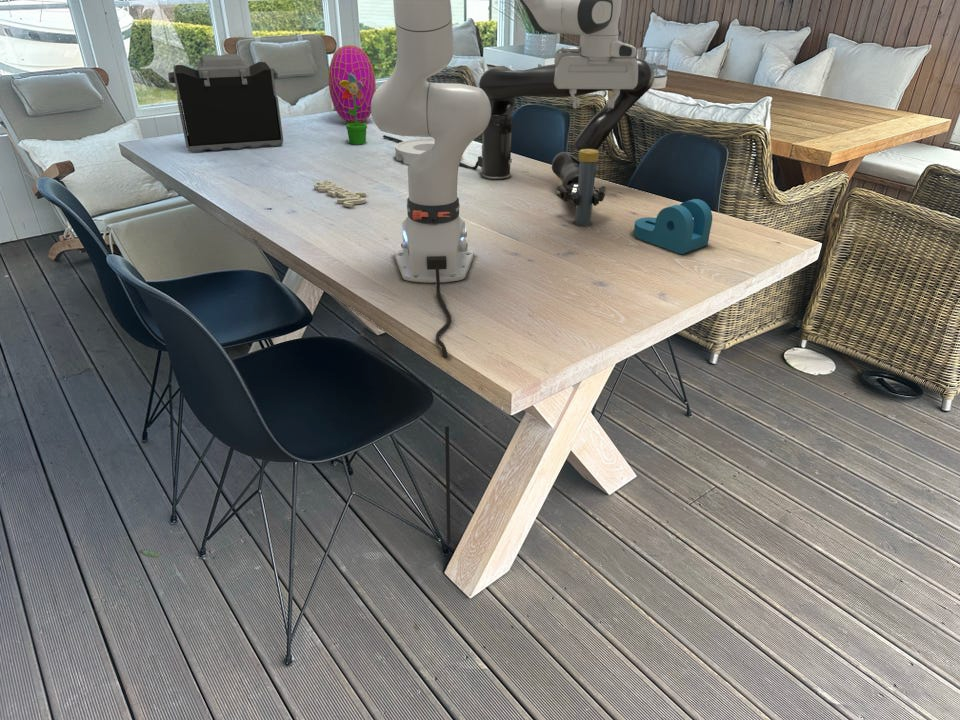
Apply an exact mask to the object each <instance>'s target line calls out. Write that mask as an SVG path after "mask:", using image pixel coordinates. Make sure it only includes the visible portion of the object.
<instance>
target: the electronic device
mask: <svg viewBox="0 0 960 720" xmlns="http://www.w3.org/2000/svg"><path fill="white" fill-rule="evenodd" d="M172 68H173V69H172V71H171V72H170V71H169V72H168V75H167V79H168V83H169V84H174V85H175V90H176V95H177V96H176V97H177V107H178V112H179V116H180V121H181V127H182V131H183V136H184V142H185V146H186V149H187V151H188V152H192V153H201V152H203V151H205V150H210V151H213V152H217V151H222V150H223V149H231V150H241V149H243V148H246V147H250V148H253V149H257V148H258V149H259V148H261V147H263V146H270V147H280V146H281V145H283V144H284V135H283V128H282V119H281V118H282V117H281V111H280V104H279V98H278V95H277V93H276V92H277V91H276V84H275V80H276V79H278V78H279V77H278V76H279V73H278V72H277V70H275V68H271V67H270V66H269V64H268V63H267V62H266V61H258V62H255V63H254V64H252V65H250V66H248V63H246V61H245V60H243V59H242V58H241V57H240V55H239V54H238V53H225V54H221V55H220V54H218V55H215V54H214V53H213V54H201V56H200V60H198V61H196V68H197V69H196V68H192V67H190V66H187V65H183V64H174V65H173V67H172Z"/></svg>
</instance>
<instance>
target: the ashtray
mask: <svg viewBox="0 0 960 720" xmlns="http://www.w3.org/2000/svg"><path fill="white" fill-rule="evenodd" d="M402 141H403V142H397V143H396V144H395V146H394V150H395V151H394V152H395V153H394V154H395V160H396V161H397V162H403V164H404V165H408V166H409V164H410V162H411V161H412V159H414V158H415V157H416V156H418V155H419V154H421V153H423V152H425V151H428V150H430V149H431V148H433V147H434V145H435V140H434V138H416V139H415V138H414V139H408V140H402Z"/></svg>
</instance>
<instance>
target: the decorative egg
mask: <svg viewBox="0 0 960 720" xmlns="http://www.w3.org/2000/svg"><path fill="white" fill-rule="evenodd" d="M348 73H350V74H352V75H354V76H355V78H356V83H357V82H358V81H361V82H362V84H363V89H361V90H360V91H361V92H362V93H363V98H362V100H359V99H358V98H357V97H356V95H355V103H356V106H359V109H358V110H356V116H357V123H364V122H365V121H366V120H368V118H369V117H370V116H371V115H372V114H371V101H372V97H373V95H374V93H375V91H376V90H377V83H376V82H377V81H376V75H375V71H374V68H373V63H372V62H371V60H370V57H369V56H368V54H367V53H366V51H365V50H363V48H361V47H359V46H357V45H353V44H352V45H351V44H348V45H343V46H340V47H338V48H337V49H336V51H334V53H333V56H332V57H331V61H330V63H329V69H328V90H329V96H330V99H331V103H332V105H333V108H334V110H335V111H336V113H337V114H338V116H339V118H341V119H342V120H343V121H344V122H346V123H348V124H349V123H355V115H351V114H349V112H348V111H349V110H354V100H353V95H352V96H351V97H350V98H348V99H341V97H342V94H343V93H344V91H345V90H347V89H346V88H343V87H342V86H341V85H340V84H339V83H340V82H341V81H342V80H346V81H349V78H348Z"/></svg>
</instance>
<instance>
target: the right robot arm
mask: <svg viewBox="0 0 960 720" xmlns="http://www.w3.org/2000/svg"><path fill="white" fill-rule="evenodd" d="M634 58H635V57H634ZM635 59H636V61H637V63H638V83H637V86H636V87H635V88H634V89H620V94H619V96H618V97H617V99H616V100H615V101H614V108H607V103H606V104H604V106H603V107H601V109H600V110H599V111H598V112H597V113H595V115H594V116H592V118H591V119H590V120H589V121H588V122H587V124H586V125H585V126H584V128H583V129H582V130H581V132H580V133H579V135H578V136H577V137H576V139H575V140H574V144H573V145H574V147H575V148H576V150H577V151H578V152H579V151H580V150H581V149H594V150H599V148H600V147H601V146H602V144H604V142H605V141H606V139H607V138H608V137H609V136H610V134H611V133H612V131H613V130H614V128H615V127H616V126H617V124H618V123H619V122H620V121H621V119H622V118H623V117H624V116H625V115H626V113H627V112H628V111H629V110H630V109H631V108H632V107H633V106H634V105H635V104H636V103H637V102H638V101H639V100H640V99H641V98H643V96H644V95H645V94H646V93H648V91H649V90H651V88H652V87H653V85H654V82H655V72H654V71H655V70H654V69H653V67H652V65H651V64H650V63H649V62H647V61H646V60H645V59H643V58H637V57H636V58H635ZM555 70H556V66H555V63H554V64H553V63H552V64H547V65H546V64H545V65H542V66H536V67H533V68H528V69H521V70H517V69H516V70H514V69H511V68H509V67H508V66H505V65H496V66H494V67H491V68H489V69H487V70H486V71H484V72H483V74H482V75H481V77H480V79H479V81H478V88H481V89H482V90H483V91H484V92H485V93H486V95H487V97H488V99H489V101H490V105H491V117H490V121H489V124H488V126H487V128H486V129H485V130H484V132H483V133H482V138H481V139H482V143H481V155H480V156H477V160H476V162H475V166H471V165H468V164H466V163H463V162H461V161H460V163H459V166H461V167H463V168H466V169H469V170H470V169H471V170H476V169H478V168H479V167H481V177H482V178H484V179H488V180H505V179H509V178H510V177H511V164H512V162H513V158H512V157H511V156H512V126H513V125H512V124H513V114H514V112H515V111H514V110H515V101H516V98H521V97H534V98H569V97H570V98H572V97H571V95H570V93H569V91H570V89H558V88H556V86H555V85H554V76H555ZM612 91H613V89H577V90H576V94H574V95H575V97H580V96H584V95H589V94H592V93H597V92H612ZM382 138H384V139H387V140H390V141H394V142H397V143H400V142H403V141H404V140H401V139H400V138H396V137H392V136H389V135H386V134H383V135H382ZM579 167H580V160H579V159H577V158H576V157H575V156H573V155H572V154H570V152H567V151H560V152H559V153H557V154H556V155H555V156H554V157H553V159H552V162H551V171H552V172H553V174H554V175H555V176H556V177H557V178H558V179H559V180H561V182H562V186H561V185H558V186H556V194H555V195H556V197H558V198H559V199H560V200H562V201H563V202H569V201H570V203H572V204H573V205H574V206H575V207H576V206H578V203H579V197H578V195H577V190H578V178H579ZM606 187H607V186H604V185H603V186H601V187H598V188H597V187H596V186H595V185H594V192H593V203H592V206H594V207H596V206H597V205H599V204H600V202H603V201H604V199H605V195H606V189H607V188H606Z"/></svg>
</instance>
